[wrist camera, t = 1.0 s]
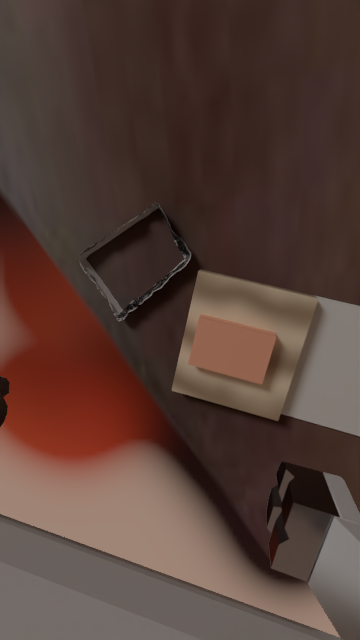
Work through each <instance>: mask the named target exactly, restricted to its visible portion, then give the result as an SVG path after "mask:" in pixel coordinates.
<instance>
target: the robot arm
mask: <svg viewBox="0 0 360 640" xmlns="http://www.w3.org/2000/svg"><path fill="white" fill-rule="evenodd" d="M8 393H9V381H8V380H7V379H6V378H4V377H1V376H0V427H1V425H2V424H3V422H4V420H5V417H6V415H7V407H8V406H7V404H6V402H5V400H4V397H5V396H6V395H7V394H8ZM276 477H277V484H278V485H276V486H275V487H273V488H272V489H271V492H270V495H269V499H268V504H267V511H266V522H267V528H268V530H269V531H270V533H271V536H270V540H269V543H268V544H269V554H270V563H271V568H272V569H275V570H277V571H280V572H283V573H285V574H288V575H291V576H293V577H296V578H298V579H301V580H304V581H306V582H309V583H308V585H309V587H310V588H311V590H312V591H313V593H314V595H315V596H316V598H317V600H318V601H319V603H320V604H321V606H322V608H323V609H324V611H325V613H326V614H327V616H328V618H329V619H330V621H331V622H332V624H333V626H334V627H335V629H336V631H337V632H338V634H339V636H340V637H341V638H339V637H336V636H334V635H331V634H328V633H325V632H323V631H320V630H317V629H315V628H311V627H309V626H306V625H304V624H300V623H298V622H295V621H292V620H289V619H287V618H284V617H281V616H278V615H276V614H273V613H270V612H267V611H265V610H262V609H259V608H256V607H254V606H251V605H248V604H245V603H243V602H240V601H237V600H234V599H232V598H229V597H226V596H223V595H221V594H218V593H215V592H213V591H210V590H207V589H204V588H202V587H199V586H196V585H194V584H191V583H188V582H185V581H182V580H180V579H177V578H174V577H172V576H169V575H166V574H163V573H161V572H158V571H155V570H152V569H149V568H147V567H144V566H142V565H139V564H136V563H133V562H131V561H128V560H125V559H122V558H120V557H117V556H114V555H111V554H109V553H106V552H103V551H100V550H98V549H95V548H92V547H89V546H87V545H84V544H81V543H78V542H76V541H73V540H70V539H67V538H65V537H62V536H59V535H56V534H54V533H51V532H48V531H45V530H42V529H40V528H37V527H34V526H31V525H28V524H26V523H23V522H20V521H18V520H15V519H12V518H10V517H7V516H4V515H1V514H0V640H360V513H359V511H358V509H357V507H356V505H355V503H354V500H353V498H352V496H351V494H350V492H349V490H348V488H347V486H346V483H345V481H344V479H342V478H341V477H340V476H336V475H332V474H328V473H324V472H320V471H317V470H313V469H309V468H306V467H302V466H298V465H295V464H291V463H287V462H283V461H281V463H280V465H279V467H278V470H277V473H276Z"/></svg>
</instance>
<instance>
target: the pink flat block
mask: <svg viewBox="0 0 360 640" xmlns="http://www.w3.org/2000/svg"><path fill="white" fill-rule="evenodd" d="M275 340H276V334H275V332H271V331H267V330H264V329H260V328H256V327H252V326H248V325H244V324H240V323H236V322H232V321H228V320H224V319H220V318H216V317H212V316H208V315H204V314H201V315H200V317H199V319H198V324H197V328H196V332H195V337H194V341H193V345H192V349H191V354H190V358H189V362H188V364H189V365H193V366H196V367H200V368H203V369H207V370H211V371H214V372H218V373H222V374H225V375H229V376H233V377H236V378H240V379H243V380H247V381H251V382H254V383H258V384H262V383H263V380H264V377H265V373H266V370H267V367H268V363H269V360H270V357H271V354H272V350H273V347H274V344H275Z"/></svg>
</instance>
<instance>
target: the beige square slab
mask: <svg viewBox="0 0 360 640" xmlns="http://www.w3.org/2000/svg"><path fill="white" fill-rule="evenodd" d="M317 302H318V298H317V297H315V296H314V295H310V294H305V293H301V292H297V291H292V290H288V289H284V288H279V287H275V286H271V285H266V284H262V283H258V282H254V281H249V280H245V279H241V278H236V277H232V276H228V275H223V274H219V273H215V272H211V271H206V270H202V269H201V270H199V271H198V275H197V279H196V284H195V288H194V292H193V297H192V301H191V306H190V310H189V315H188V319H187V324H186V328H185V333H184V337H183V342H182V346H181V350H180V355H179V359H178V364H177V368H176V373H175V377H174V382H173V386H172V391H175V392H179V393H182V394H186V395H189V396H193V397H196V398H199V399H203V400H206V401H210V402H213V403H217V404H220V405H224V406H227V407H231V408H234V409H238V410H241V411H244V412H248V413H251V414H255V415H258V416H262V417H265V418H269V419H272V420H276V421H278V420H279V417H280V414H281V411H282V408H283V405H284V402H285V399H286V396H287V393H288V390H289V387H290V384H291V381H292V378H293V375H294V372H295V369H296V365H297V362H298V359H299V356H300V353H301V350H302V347H303V344H304V341H305V338H306V335H307V332H308V329H309V326H310V323H311V320H312V317H313V314H314V311H315V308H316V305H317ZM201 314H204V315H208V316H212V317H216V318H220V319H224V320H228V321H232V322H236V323H240V324H244V325H248V326H252V327H256V328H260V329H264V330H267V331H271V332H275V334H276V340H275V344H274V347H273V350H272V354H271V357H270V360H269V363H268V367H267V370H266V373H265V377H264V380H263V383H262V384H258V383H254V382H251V381H247V380H243V379H240V378H236V377H233V376H229V375H225V374H222V373H218V372H214V371H211V370H207V369H203V368H200V367H196V366H193V365H189V364H188V362H189V358H190V354H191V349H192V345H193V341H194V337H195V332H196V328H197V324H198V319H199V317H200V315H201Z"/></svg>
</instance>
